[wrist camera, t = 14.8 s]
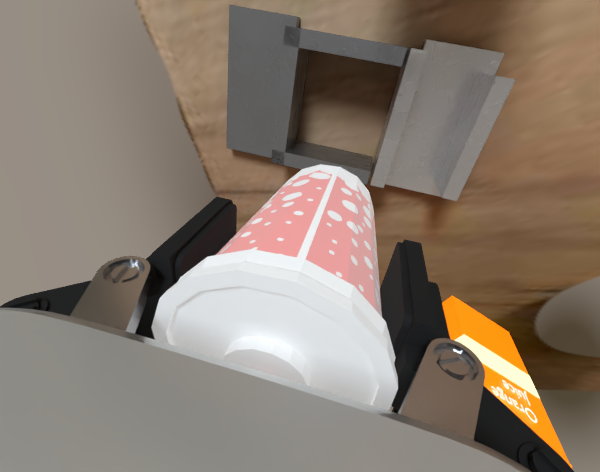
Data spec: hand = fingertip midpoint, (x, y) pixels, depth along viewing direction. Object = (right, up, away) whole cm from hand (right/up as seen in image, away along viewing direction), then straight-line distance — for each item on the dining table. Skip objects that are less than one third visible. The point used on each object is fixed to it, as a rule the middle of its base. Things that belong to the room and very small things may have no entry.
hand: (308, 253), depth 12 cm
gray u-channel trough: (+11, +11, +16) cm, 22 cm away
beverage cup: (+1, +2, +3) cm, 4 cm away
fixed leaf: (0, +14, +17) cm, 22 cm away
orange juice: (+20, -11, +27) cm, 35 cm away
